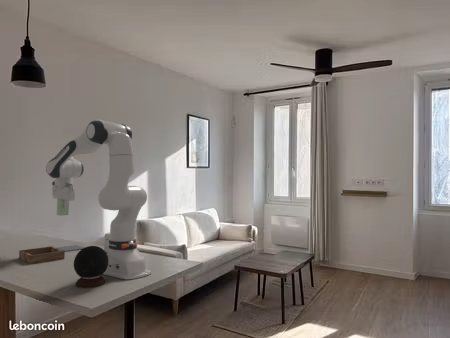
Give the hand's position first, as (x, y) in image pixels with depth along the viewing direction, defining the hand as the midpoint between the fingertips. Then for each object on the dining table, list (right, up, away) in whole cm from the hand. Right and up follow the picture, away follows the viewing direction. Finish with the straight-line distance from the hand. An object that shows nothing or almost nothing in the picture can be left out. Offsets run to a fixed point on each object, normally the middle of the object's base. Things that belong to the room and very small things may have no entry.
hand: (62, 207), depth 192 cm
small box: (+27, -26, +4) cm, 38 cm away
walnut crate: (-3, -24, -17) cm, 30 cm away
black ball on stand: (+37, -25, -55) cm, 70 cm away
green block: (0, -4, 0) cm, 4 cm away
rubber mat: (+1, -25, +8) cm, 26 cm away
